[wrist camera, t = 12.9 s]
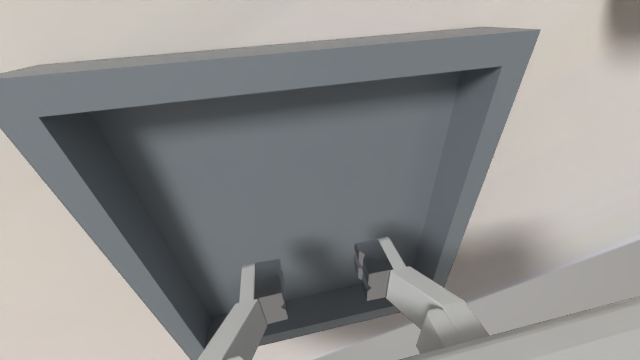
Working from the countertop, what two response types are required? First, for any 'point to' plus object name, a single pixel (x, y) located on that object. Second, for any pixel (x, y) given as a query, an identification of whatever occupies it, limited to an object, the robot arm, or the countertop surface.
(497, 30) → the tray
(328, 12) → the countertop surface
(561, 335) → the robot arm
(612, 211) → the countertop surface
